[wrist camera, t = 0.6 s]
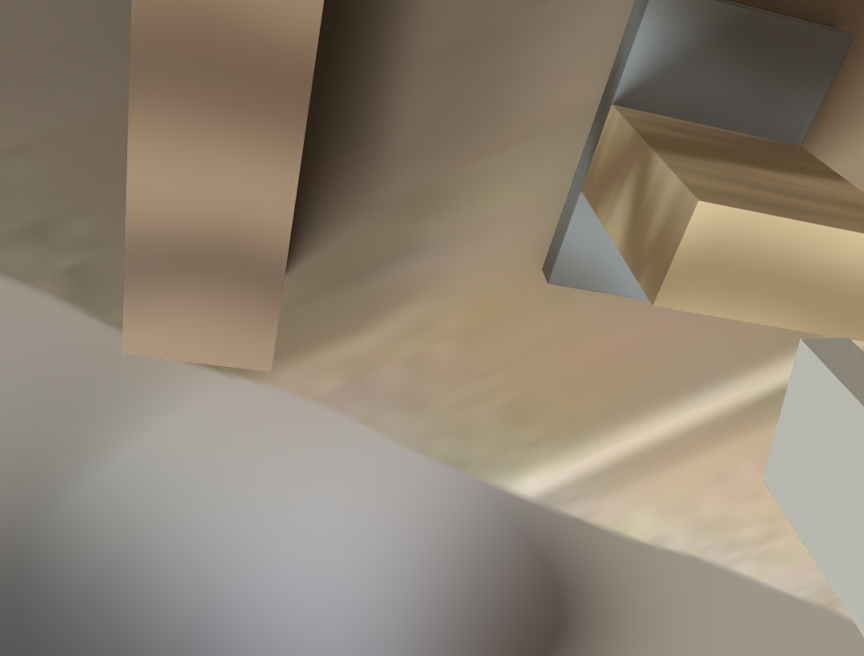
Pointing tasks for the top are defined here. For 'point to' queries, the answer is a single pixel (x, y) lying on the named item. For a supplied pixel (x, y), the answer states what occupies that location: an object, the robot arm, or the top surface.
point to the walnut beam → (213, 174)
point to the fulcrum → (717, 174)
